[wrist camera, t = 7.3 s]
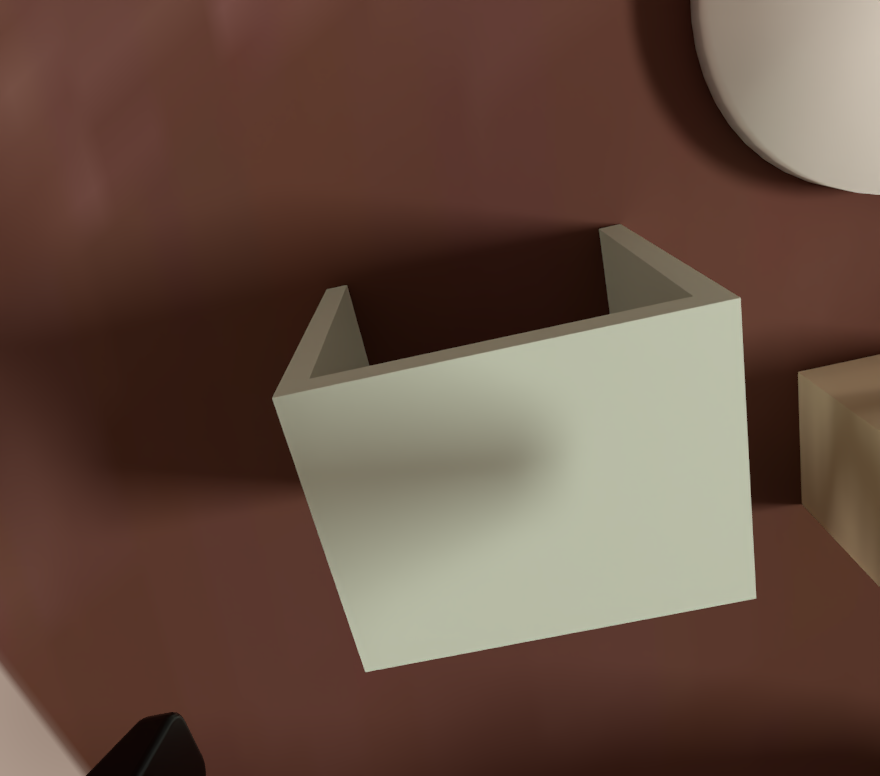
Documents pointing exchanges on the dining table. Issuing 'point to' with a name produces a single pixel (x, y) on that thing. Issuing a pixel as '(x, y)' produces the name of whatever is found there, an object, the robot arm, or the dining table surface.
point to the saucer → (798, 83)
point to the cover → (530, 467)
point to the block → (843, 455)
